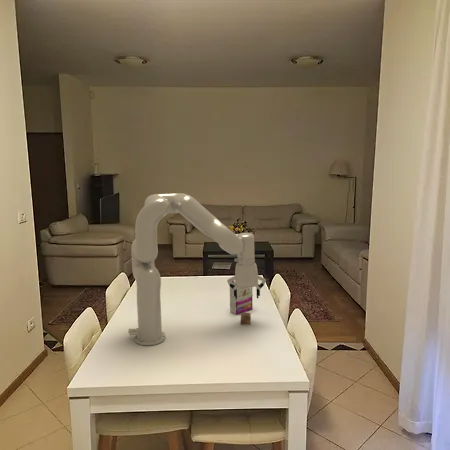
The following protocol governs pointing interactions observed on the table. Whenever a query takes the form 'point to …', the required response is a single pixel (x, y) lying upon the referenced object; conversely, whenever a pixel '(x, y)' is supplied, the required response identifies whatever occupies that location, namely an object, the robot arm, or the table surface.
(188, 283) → the table surface
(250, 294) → the candy bar box
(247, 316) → the walnut block
